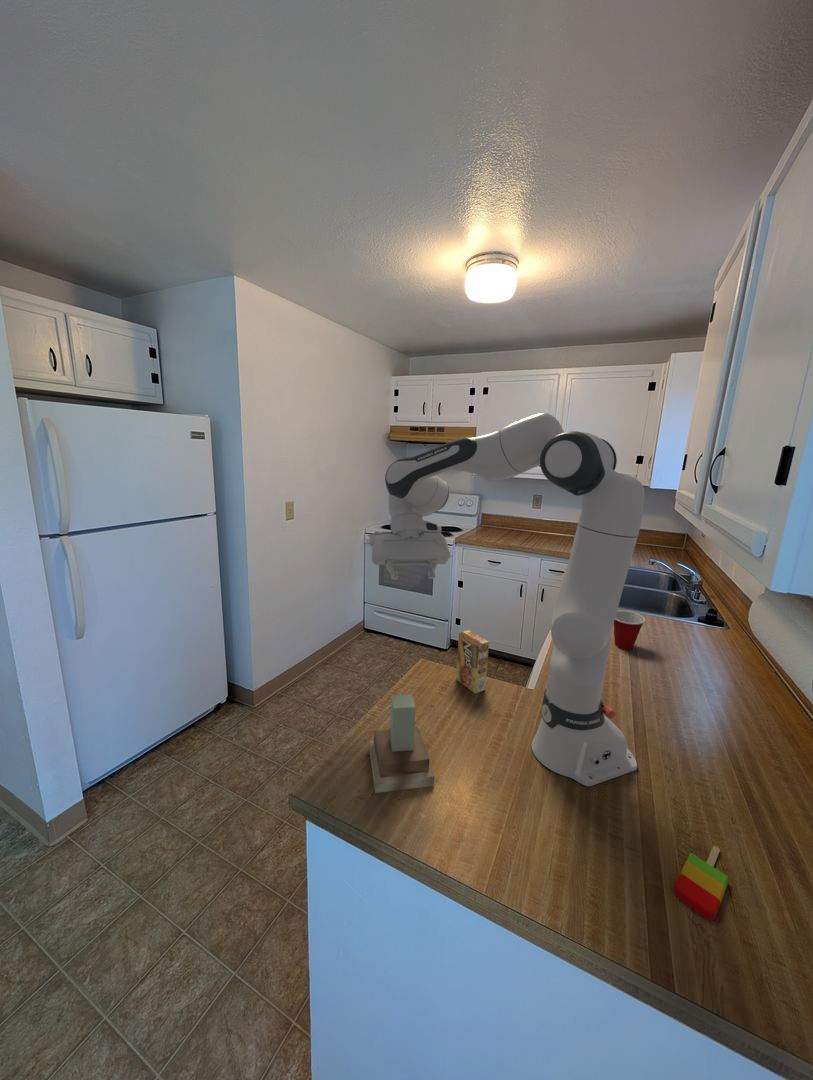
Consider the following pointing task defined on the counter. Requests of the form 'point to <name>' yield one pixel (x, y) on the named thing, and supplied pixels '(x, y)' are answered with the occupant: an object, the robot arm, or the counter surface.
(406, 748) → the green block
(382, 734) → the tower top
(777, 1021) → the counter surface
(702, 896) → the popsicle
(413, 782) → the tower base
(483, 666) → the candy box
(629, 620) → the plastic cup
